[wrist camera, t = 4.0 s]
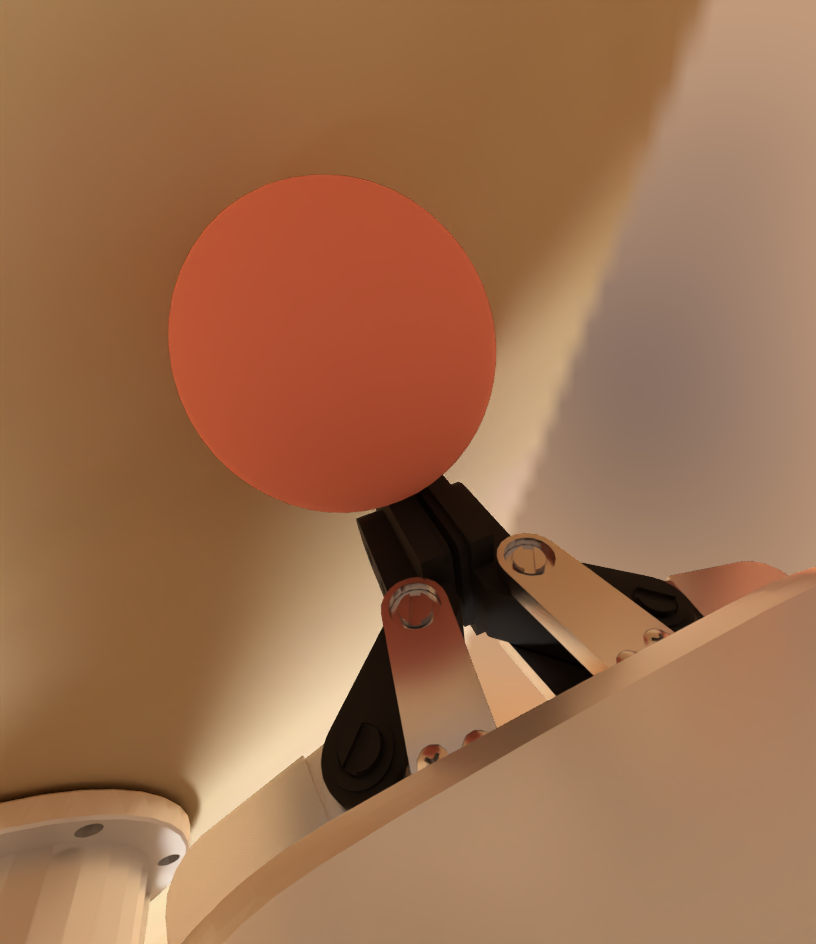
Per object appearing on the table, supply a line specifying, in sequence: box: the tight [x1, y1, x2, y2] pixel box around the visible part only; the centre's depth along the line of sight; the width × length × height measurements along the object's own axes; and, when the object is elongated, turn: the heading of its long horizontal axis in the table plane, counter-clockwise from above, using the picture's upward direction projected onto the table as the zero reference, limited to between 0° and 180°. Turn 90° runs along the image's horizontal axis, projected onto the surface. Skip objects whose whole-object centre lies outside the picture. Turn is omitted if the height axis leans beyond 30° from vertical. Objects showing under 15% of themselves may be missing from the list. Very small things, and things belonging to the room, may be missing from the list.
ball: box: [168, 174, 496, 513], centre depth 8 cm, size 6×6×6 cm
